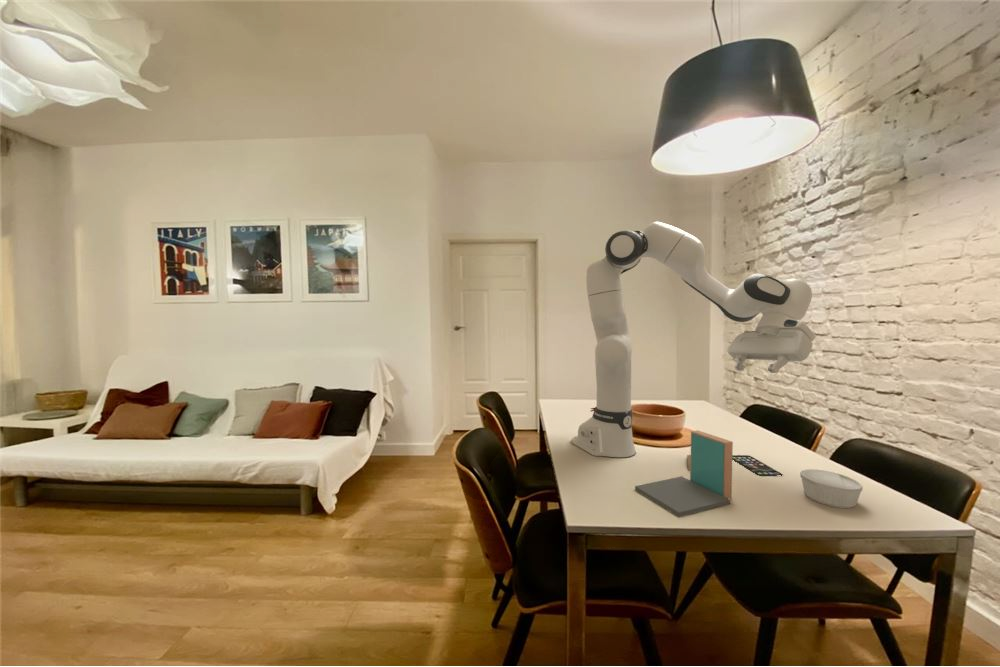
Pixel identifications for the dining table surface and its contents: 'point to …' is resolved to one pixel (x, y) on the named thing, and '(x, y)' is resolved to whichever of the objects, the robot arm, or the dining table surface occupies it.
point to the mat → (682, 496)
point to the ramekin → (831, 488)
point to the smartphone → (755, 465)
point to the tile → (711, 462)
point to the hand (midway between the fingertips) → (754, 370)
